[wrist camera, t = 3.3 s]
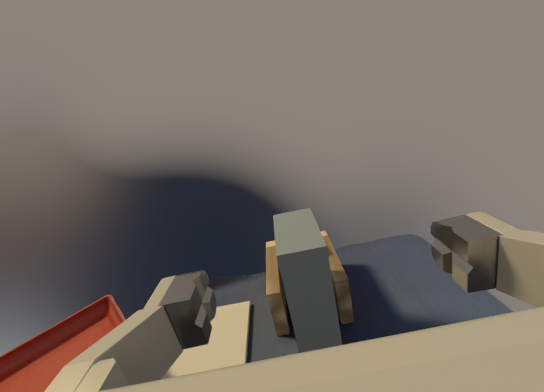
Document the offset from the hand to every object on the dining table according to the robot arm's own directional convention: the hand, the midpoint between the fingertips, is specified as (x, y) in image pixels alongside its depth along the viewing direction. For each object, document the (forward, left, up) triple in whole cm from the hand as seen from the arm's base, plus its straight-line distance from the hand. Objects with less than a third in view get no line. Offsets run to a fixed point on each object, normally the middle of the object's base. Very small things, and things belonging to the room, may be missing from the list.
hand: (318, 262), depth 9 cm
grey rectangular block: (0, +14, -19) cm, 24 cm away
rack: (0, +21, -19) cm, 28 cm away
